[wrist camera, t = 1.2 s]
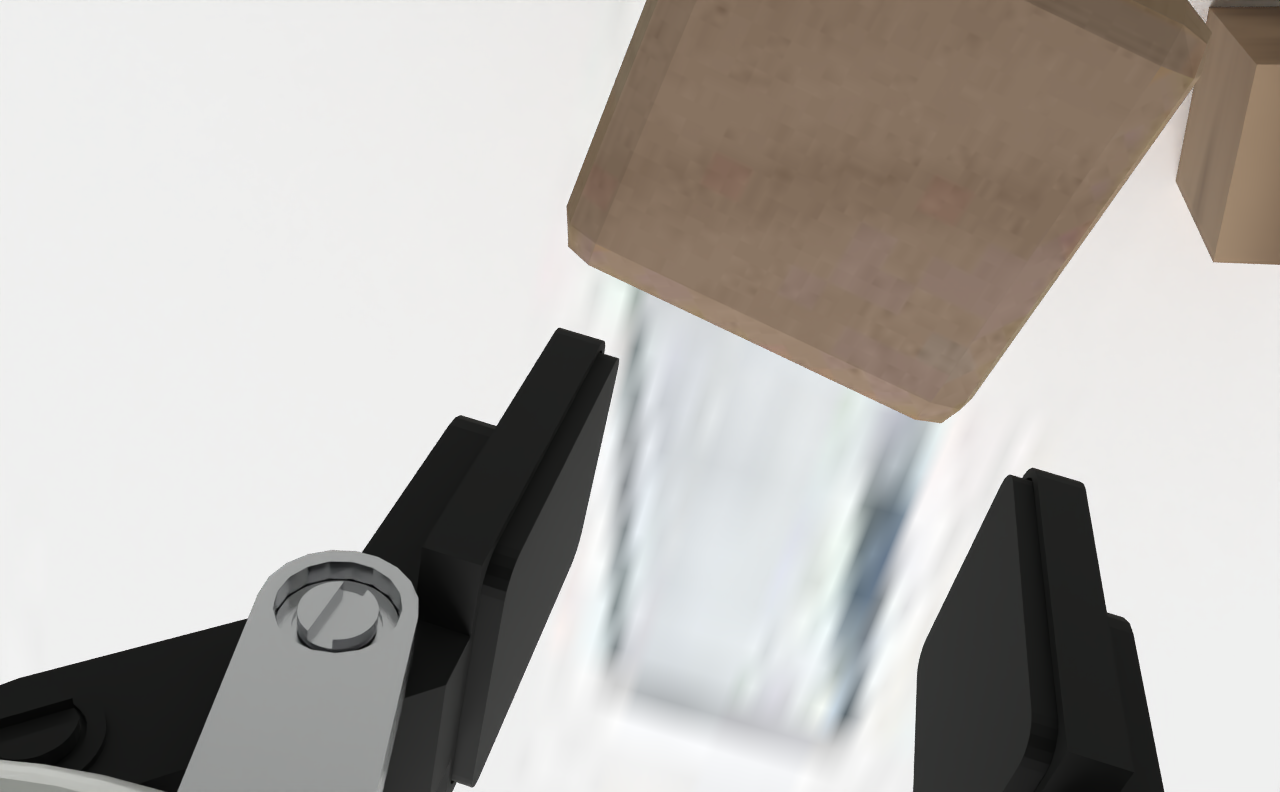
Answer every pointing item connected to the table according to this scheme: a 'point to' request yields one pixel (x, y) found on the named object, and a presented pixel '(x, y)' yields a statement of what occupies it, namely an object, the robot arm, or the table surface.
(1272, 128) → the walnut block
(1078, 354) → the table surface
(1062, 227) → the block
